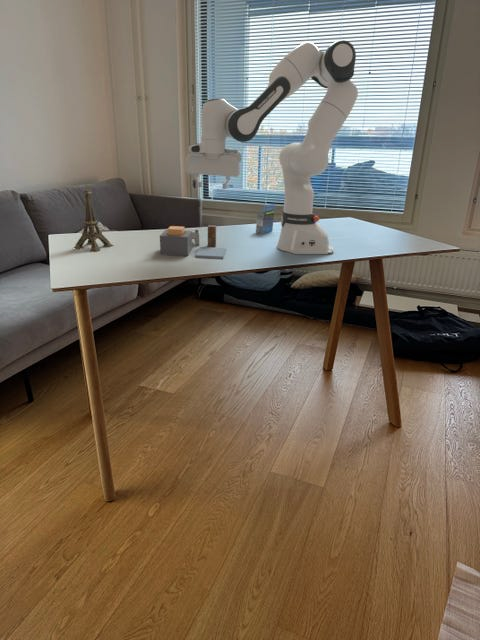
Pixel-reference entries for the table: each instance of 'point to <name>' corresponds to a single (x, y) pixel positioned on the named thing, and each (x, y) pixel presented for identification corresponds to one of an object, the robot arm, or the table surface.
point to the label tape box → (265, 220)
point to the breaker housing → (176, 244)
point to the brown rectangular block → (211, 235)
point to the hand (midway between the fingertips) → (212, 187)
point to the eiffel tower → (91, 227)
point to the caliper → (195, 237)
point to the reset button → (176, 230)
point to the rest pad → (211, 252)
